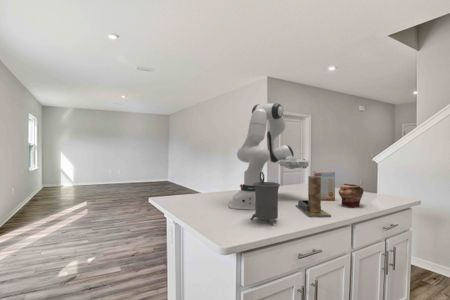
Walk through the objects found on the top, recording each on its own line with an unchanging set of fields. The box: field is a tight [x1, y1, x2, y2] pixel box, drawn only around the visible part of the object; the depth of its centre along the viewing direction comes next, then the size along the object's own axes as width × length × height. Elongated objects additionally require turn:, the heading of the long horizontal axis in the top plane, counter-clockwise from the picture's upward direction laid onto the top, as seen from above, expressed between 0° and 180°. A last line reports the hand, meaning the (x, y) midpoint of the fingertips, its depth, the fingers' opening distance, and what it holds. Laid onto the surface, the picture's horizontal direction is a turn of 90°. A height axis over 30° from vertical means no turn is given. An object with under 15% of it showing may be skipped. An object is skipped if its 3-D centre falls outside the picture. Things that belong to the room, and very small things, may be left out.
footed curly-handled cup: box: [250, 171, 281, 227], centre depth 129 cm, size 19×15×25 cm
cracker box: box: [312, 170, 336, 202], centre depth 181 cm, size 14×6×21 cm, turn 84°
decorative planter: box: [338, 183, 364, 208], centre depth 163 cm, size 20×12×14 cm, turn 116°
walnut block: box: [307, 175, 322, 212], centre depth 144 cm, size 5×6×20 cm
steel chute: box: [295, 199, 332, 218], centre depth 148 cm, size 12×25×4 cm, turn 1°
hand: (296, 164), depth 169 cm, fingers closed
